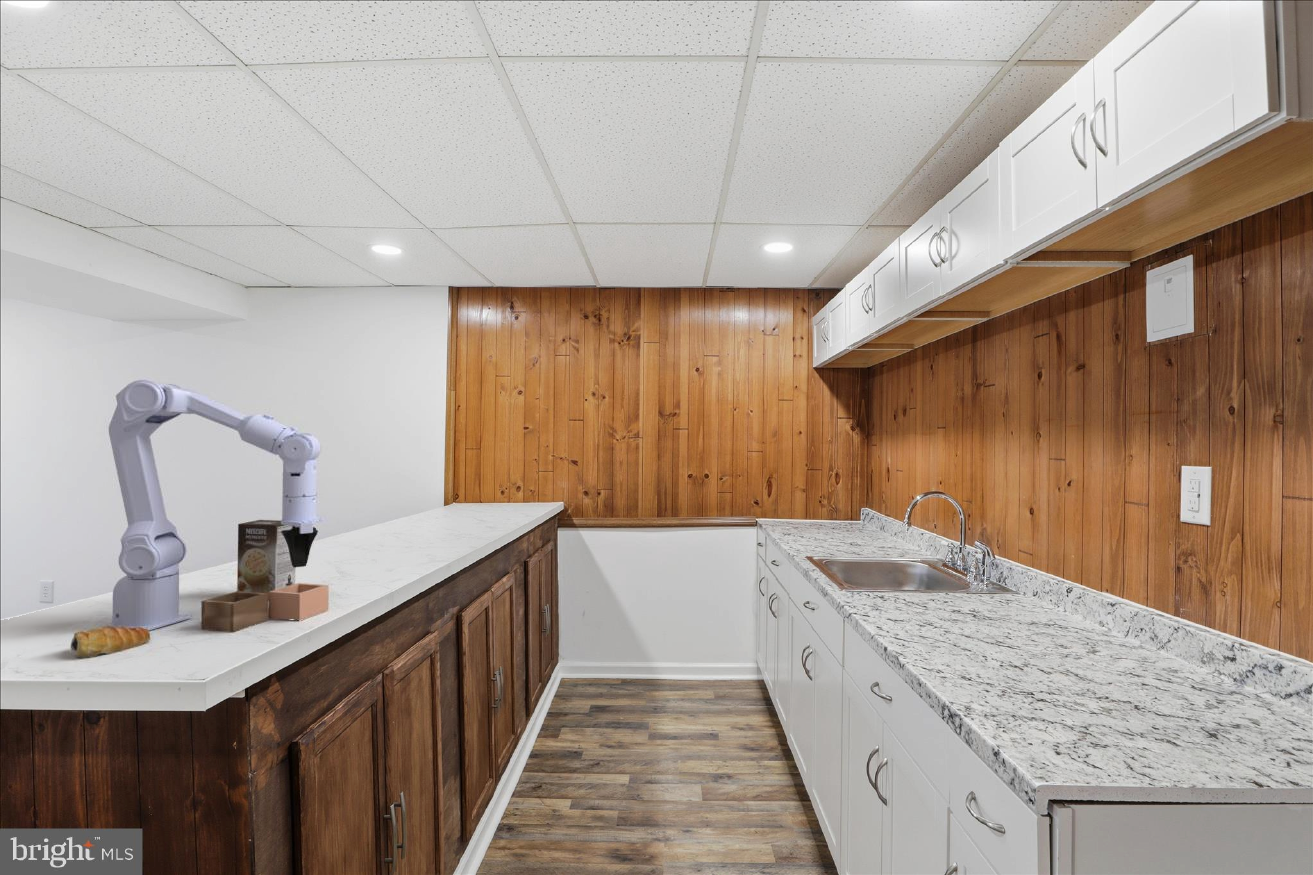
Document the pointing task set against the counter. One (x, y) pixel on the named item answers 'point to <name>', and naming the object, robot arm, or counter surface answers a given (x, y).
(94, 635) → the pastry
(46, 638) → the counter surface
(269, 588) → the coffee box
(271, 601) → the box
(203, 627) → the box
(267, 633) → the counter surface
